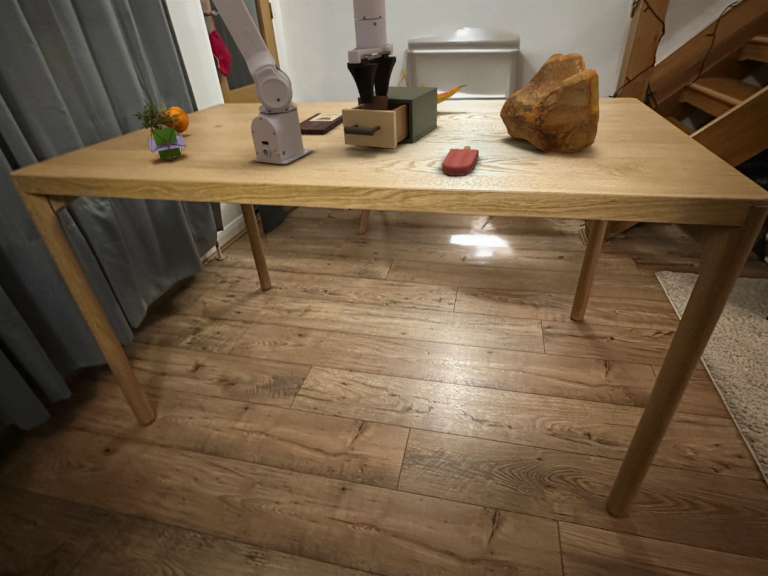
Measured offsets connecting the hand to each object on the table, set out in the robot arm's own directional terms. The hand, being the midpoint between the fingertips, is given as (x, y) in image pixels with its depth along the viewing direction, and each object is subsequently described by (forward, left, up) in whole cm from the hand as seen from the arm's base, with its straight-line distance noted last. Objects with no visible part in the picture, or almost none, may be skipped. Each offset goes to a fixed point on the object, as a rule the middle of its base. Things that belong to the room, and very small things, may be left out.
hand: (374, 100), depth 85 cm
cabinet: (+12, 0, -9) cm, 15 cm away
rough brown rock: (+13, -31, -9) cm, 35 cm away
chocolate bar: (+14, +23, -9) cm, 28 cm away
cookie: (0, 0, -2) cm, 2 cm away
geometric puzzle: (-20, +38, -9) cm, 44 cm away
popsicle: (-5, -20, -9) cm, 23 cm away
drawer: (+1, 0, -8) cm, 8 cm away
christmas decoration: (+6, +51, -9) cm, 52 cm away
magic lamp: (+33, 0, -9) cm, 34 cm away
